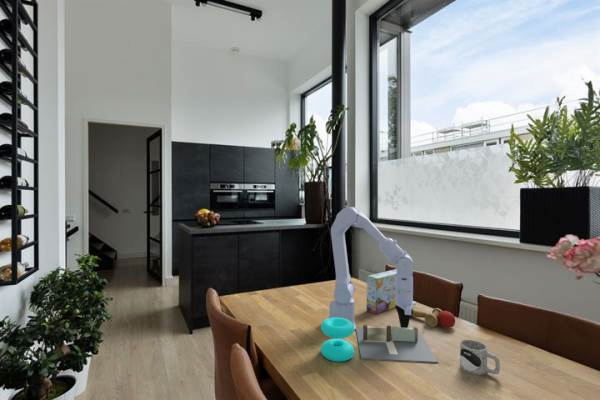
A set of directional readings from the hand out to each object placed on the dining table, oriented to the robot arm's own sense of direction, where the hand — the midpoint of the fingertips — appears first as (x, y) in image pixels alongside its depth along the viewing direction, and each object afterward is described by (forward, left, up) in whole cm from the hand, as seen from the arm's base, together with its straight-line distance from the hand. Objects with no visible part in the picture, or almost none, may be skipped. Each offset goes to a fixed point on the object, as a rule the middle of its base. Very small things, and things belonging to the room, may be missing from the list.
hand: (404, 327), depth 112 cm
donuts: (-24, -17, -2) cm, 29 cm away
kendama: (+12, +11, -2) cm, 16 cm away
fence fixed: (-10, -7, -2) cm, 13 cm away
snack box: (-2, +26, -2) cm, 26 cm away
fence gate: (-1, -7, -1) cm, 7 cm away
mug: (+15, -22, -2) cm, 27 cm away
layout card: (-6, -8, -2) cm, 10 cm away
